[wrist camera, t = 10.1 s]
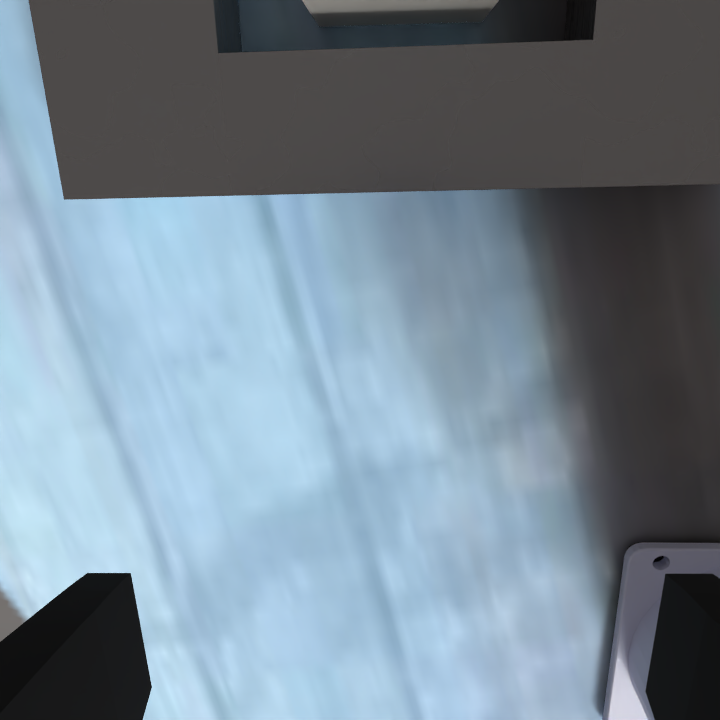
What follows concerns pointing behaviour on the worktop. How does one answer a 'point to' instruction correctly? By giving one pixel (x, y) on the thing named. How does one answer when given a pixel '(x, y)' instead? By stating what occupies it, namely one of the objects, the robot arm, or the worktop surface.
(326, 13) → the plug
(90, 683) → the robot arm
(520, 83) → the socket plate
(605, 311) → the worktop surface
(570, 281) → the worktop surface
